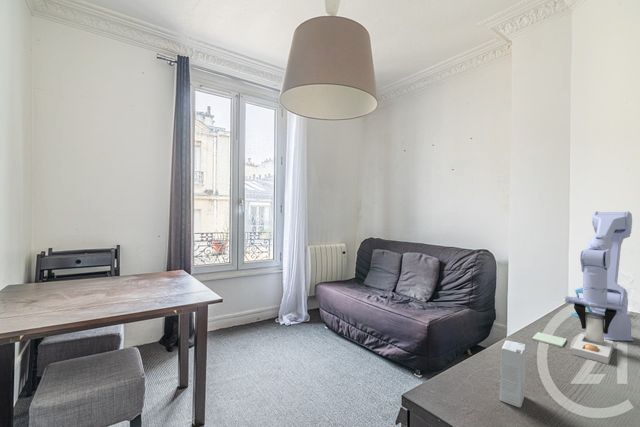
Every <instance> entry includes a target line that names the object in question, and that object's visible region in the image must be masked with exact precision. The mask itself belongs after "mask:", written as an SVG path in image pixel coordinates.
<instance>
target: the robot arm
mask: <svg viewBox="0 0 640 427" xmlns="http://www.w3.org/2000/svg"><path fill="white" fill-rule="evenodd" d="M591 224H592V226H593V231H594V233H595V234H594V235H592V236H591V237H590V238H589V242H588V244H587V246H586V248H585V249H584V250H581V252H580V257H579V259H580V265H581V272H582V288H583V293H582V297H579V298H576V297H577V296H576V297H574V296H569V295H568V296H565V297H564V301H565V302H564V304H572V305H573V308H574V310H575V313H577V314H578V316H579V322H580V325H581V329H583V330H585V326H586V320H585V317H586V316H585V312H587V311H586V310H587V308H586V306H588V307H591V309H593V311H592V312H595V313H600V314H603V315H605V319H604V339H605V340H610V341H624V342H625V341H627V342H628V341H630V342H632V341H633V342H634V338H632V320H631V317H630V315H629V314H628V306H629V299H628V295H629V294H628V292H627V290H626V289H625V288H624V287H623V286H622V285H620V284H618V280H619V270H620V259H621V249H622V244H623V242H624V240H625V239H629V238H630V237H631V234H632V226H633V215H632V213H631V212H630V211H595V212H593V214H592V217H591Z"/></svg>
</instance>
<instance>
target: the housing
mask: <svg viewBox="0 0 640 427" xmlns="http://www.w3.org/2000/svg"><path fill="white" fill-rule="evenodd" d="M585 344H591V345H594V346H597V352H594V351H591V350H587V349H585ZM613 350H614V340H605V339H604V342H594V341H590V340H588V339H586V338H585V334H583V333H580V334H579V335H578V337H577V338H576V340H575V342H574V344H573V345H572V347H571V355H573V356H577V357H581V358H583V359H584V358H585V359H588V360H592V361H596V362H599V363H603V364H605V365H606V364H607V365H610V364H609V363H610V360H611V357H612V354H613Z"/></svg>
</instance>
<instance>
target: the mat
mask: <svg viewBox="0 0 640 427" xmlns="http://www.w3.org/2000/svg"><path fill="white" fill-rule="evenodd" d="M531 340H532V341H535V342H536V341H537V342H539V341H540V343H543V342H544V343H543V344H548V345H551V346H555V347H559V348H563V347H564V345H565V344H566V343H567V341H568V339H567V338H565V337H560V336H556V335H552V334H547V333H544V332H539V331H538V332H536V333H535V334H534V336H533V337H531Z"/></svg>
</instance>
